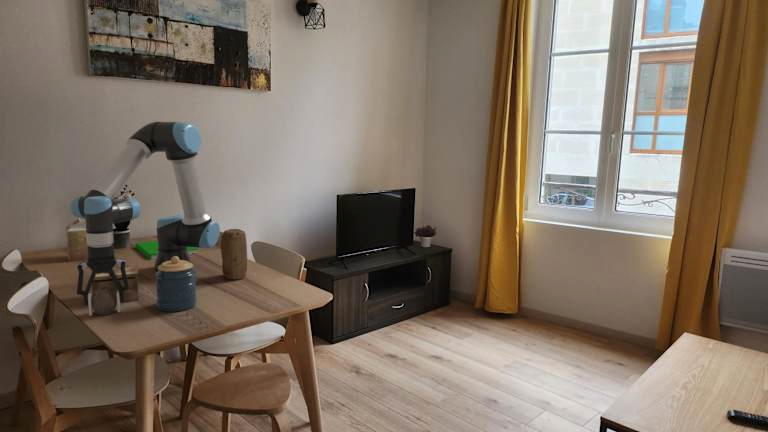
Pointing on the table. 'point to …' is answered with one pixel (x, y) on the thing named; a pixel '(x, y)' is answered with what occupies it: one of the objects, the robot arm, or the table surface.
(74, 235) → the tan lidded jar
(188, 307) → the canister
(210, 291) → the table surface
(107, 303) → the vase
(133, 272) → the lid
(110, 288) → the keepsake box
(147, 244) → the book
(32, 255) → the table surface
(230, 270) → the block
